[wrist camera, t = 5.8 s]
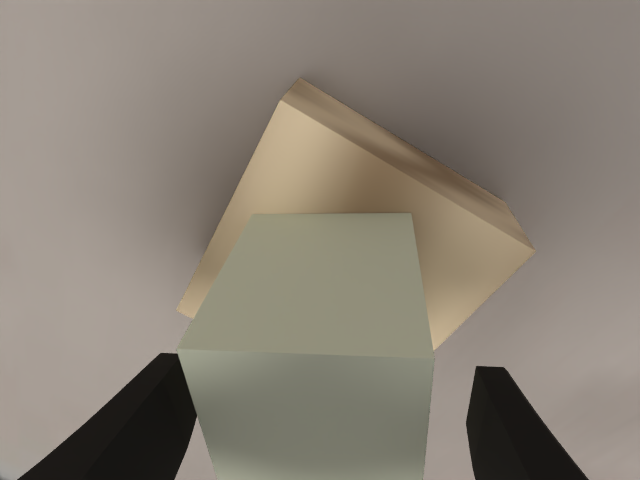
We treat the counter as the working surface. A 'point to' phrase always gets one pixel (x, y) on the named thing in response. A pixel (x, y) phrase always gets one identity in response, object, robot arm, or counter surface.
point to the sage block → (315, 351)
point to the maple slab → (372, 203)
